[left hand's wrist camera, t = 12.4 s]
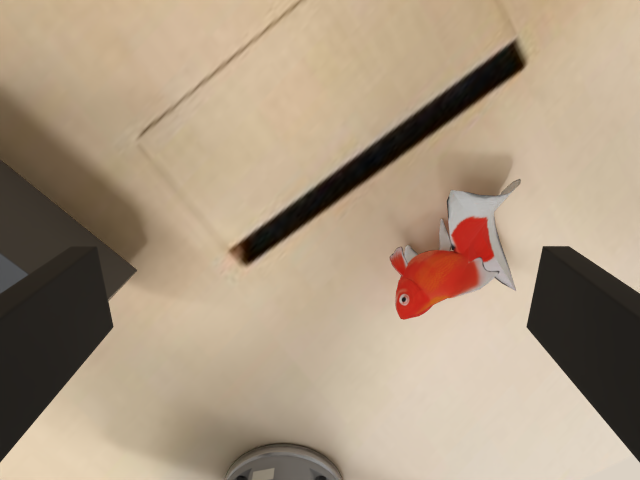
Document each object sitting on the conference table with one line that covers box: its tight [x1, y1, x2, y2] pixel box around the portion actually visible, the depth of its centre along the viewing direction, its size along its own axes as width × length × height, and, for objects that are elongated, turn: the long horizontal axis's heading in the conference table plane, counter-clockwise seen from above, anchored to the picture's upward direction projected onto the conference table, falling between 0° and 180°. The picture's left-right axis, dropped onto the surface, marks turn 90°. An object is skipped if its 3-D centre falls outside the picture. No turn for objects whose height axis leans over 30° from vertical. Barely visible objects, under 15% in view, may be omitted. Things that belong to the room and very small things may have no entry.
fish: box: [390, 179, 521, 320], centre depth 38 cm, size 11×16×10 cm
